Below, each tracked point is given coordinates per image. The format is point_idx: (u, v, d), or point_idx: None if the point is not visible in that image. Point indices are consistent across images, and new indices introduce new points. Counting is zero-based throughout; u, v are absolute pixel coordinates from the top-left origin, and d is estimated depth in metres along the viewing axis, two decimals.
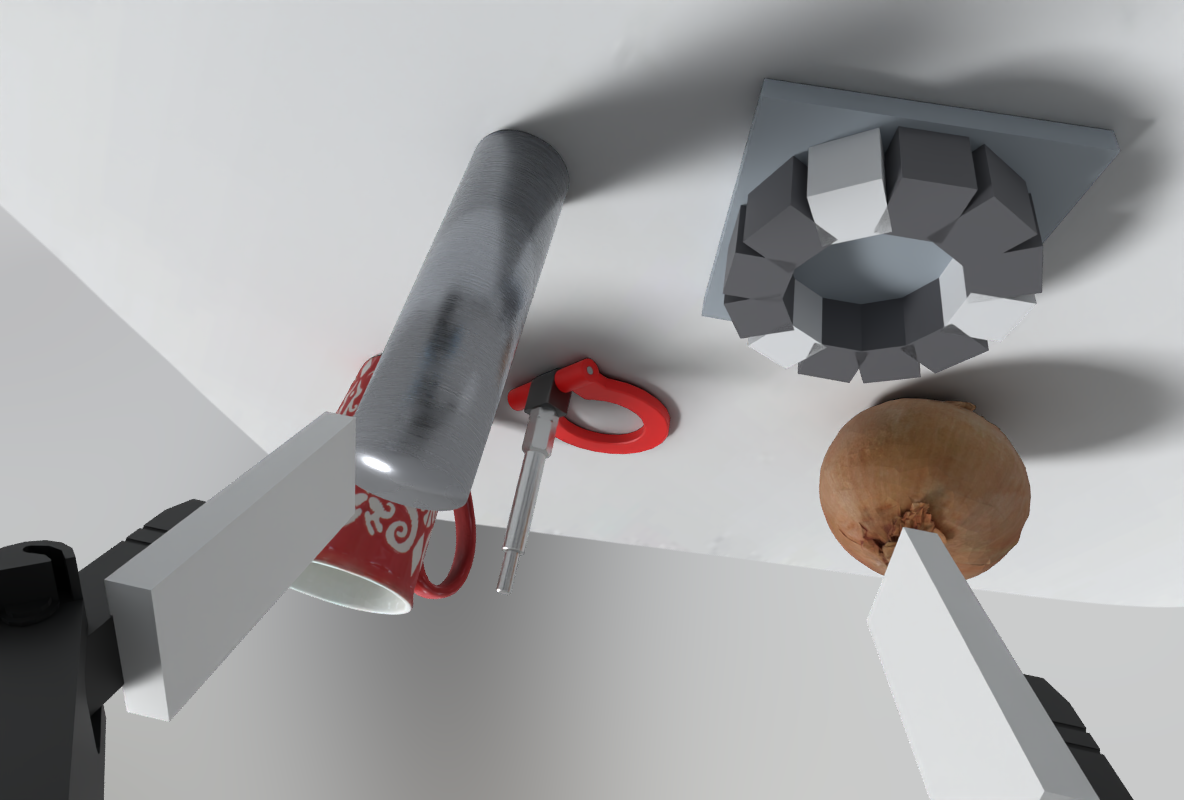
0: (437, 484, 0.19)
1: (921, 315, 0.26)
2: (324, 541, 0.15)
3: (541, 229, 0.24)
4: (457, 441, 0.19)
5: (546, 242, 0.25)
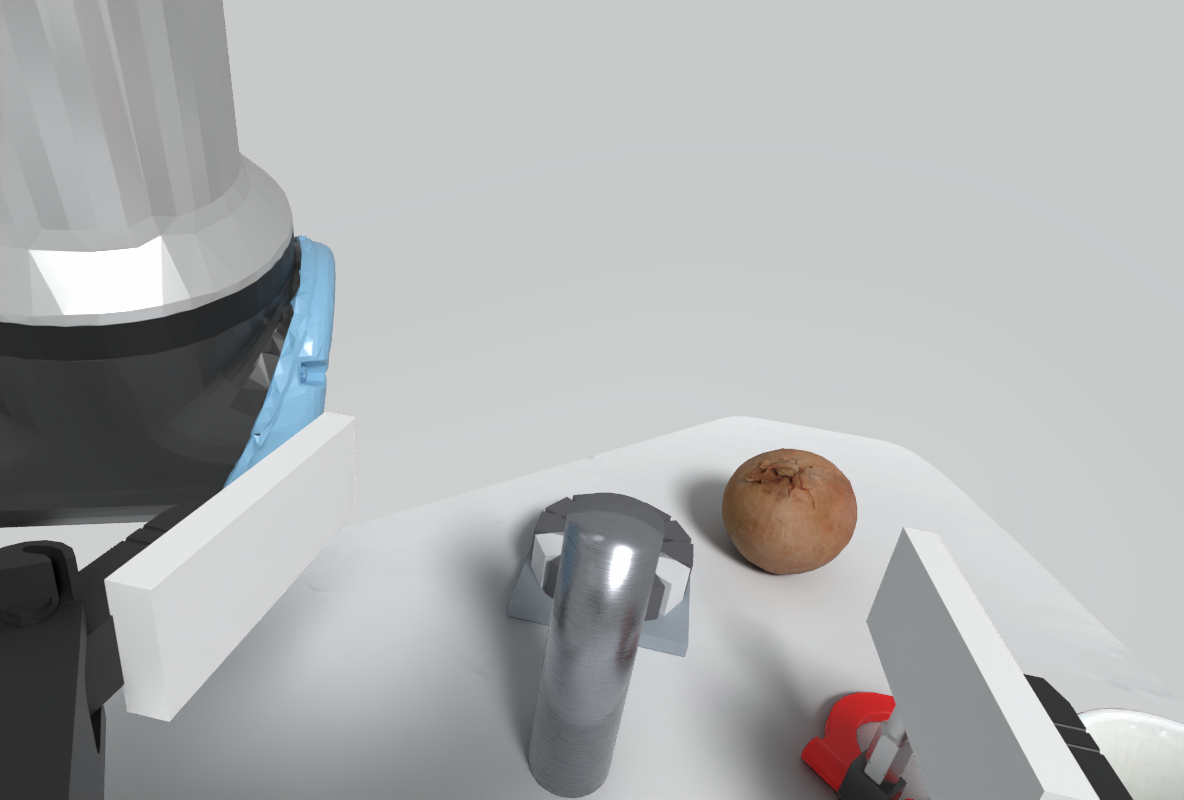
0: (612, 502, 0.28)
1: None
2: (324, 541, 0.15)
3: None
4: None
5: None
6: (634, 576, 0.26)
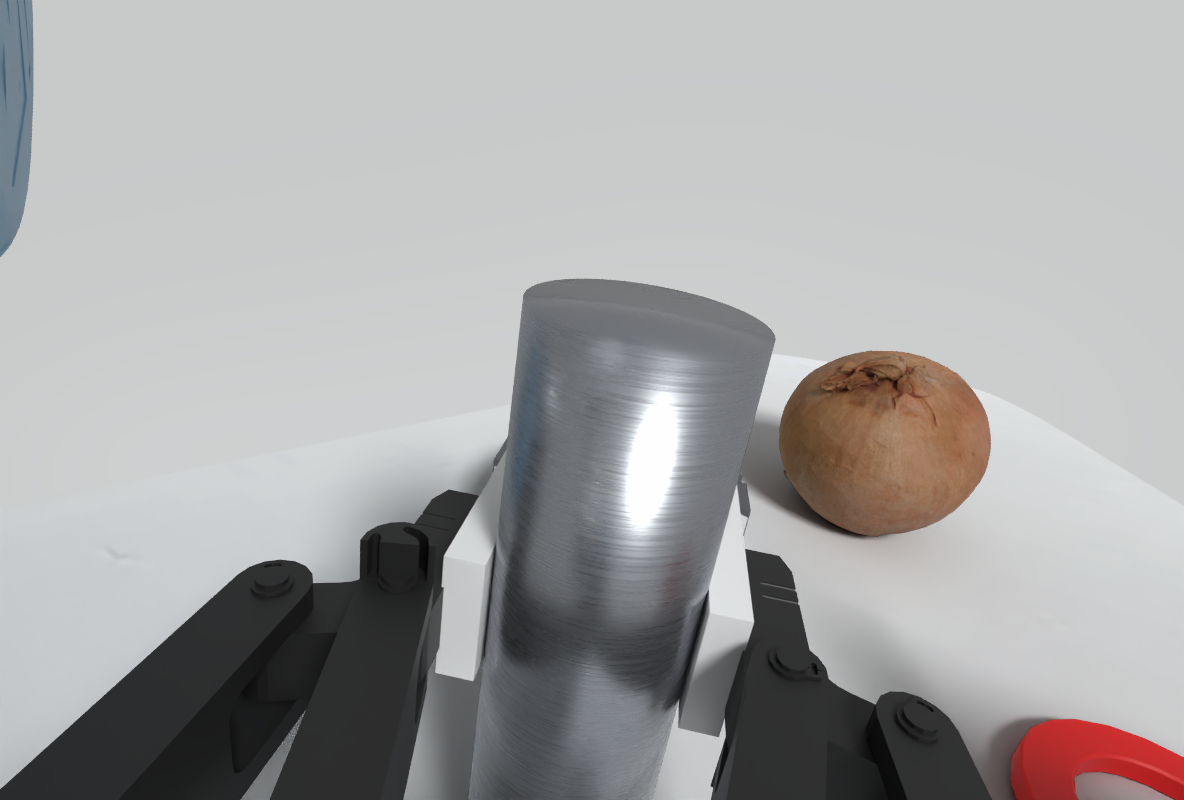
0: (634, 292, 0.12)
1: None
2: None
3: None
4: None
5: None
6: (704, 441, 0.09)
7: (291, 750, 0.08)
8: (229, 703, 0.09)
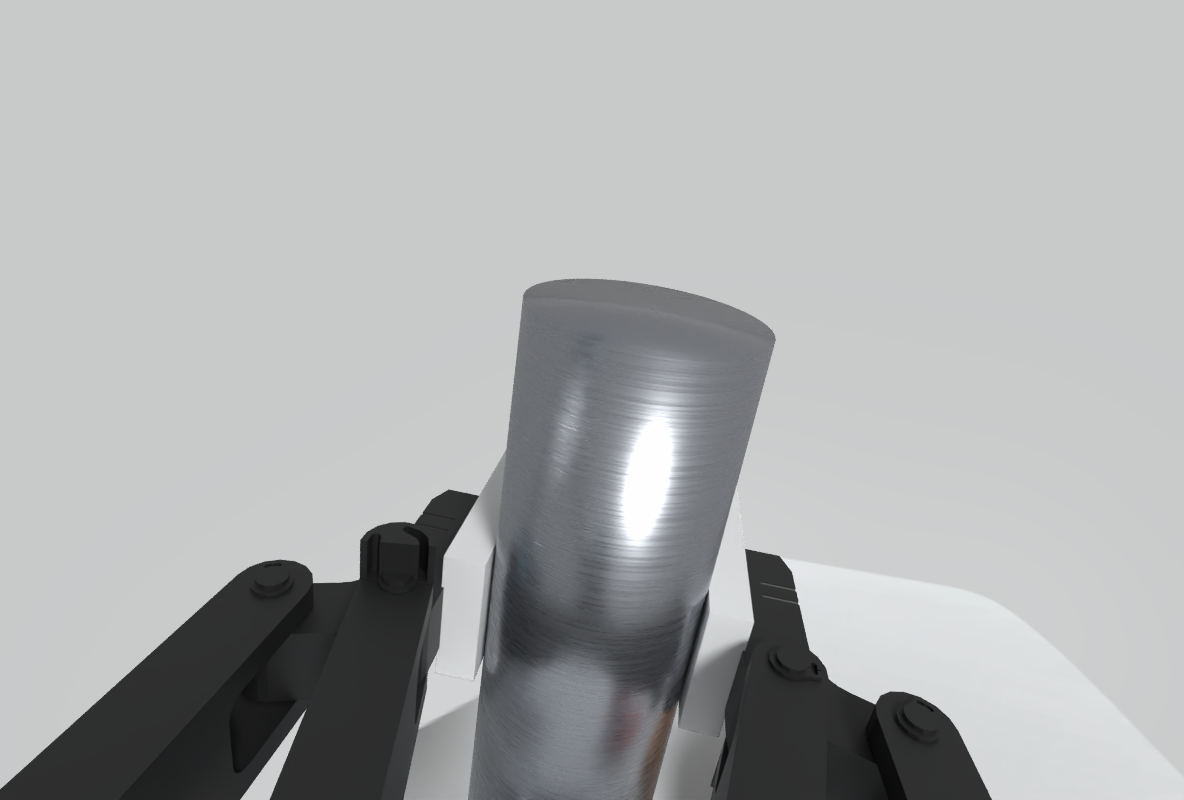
0: (634, 292, 0.12)
1: None
2: None
3: None
4: None
5: None
6: (704, 442, 0.09)
7: (291, 750, 0.08)
8: (229, 703, 0.09)
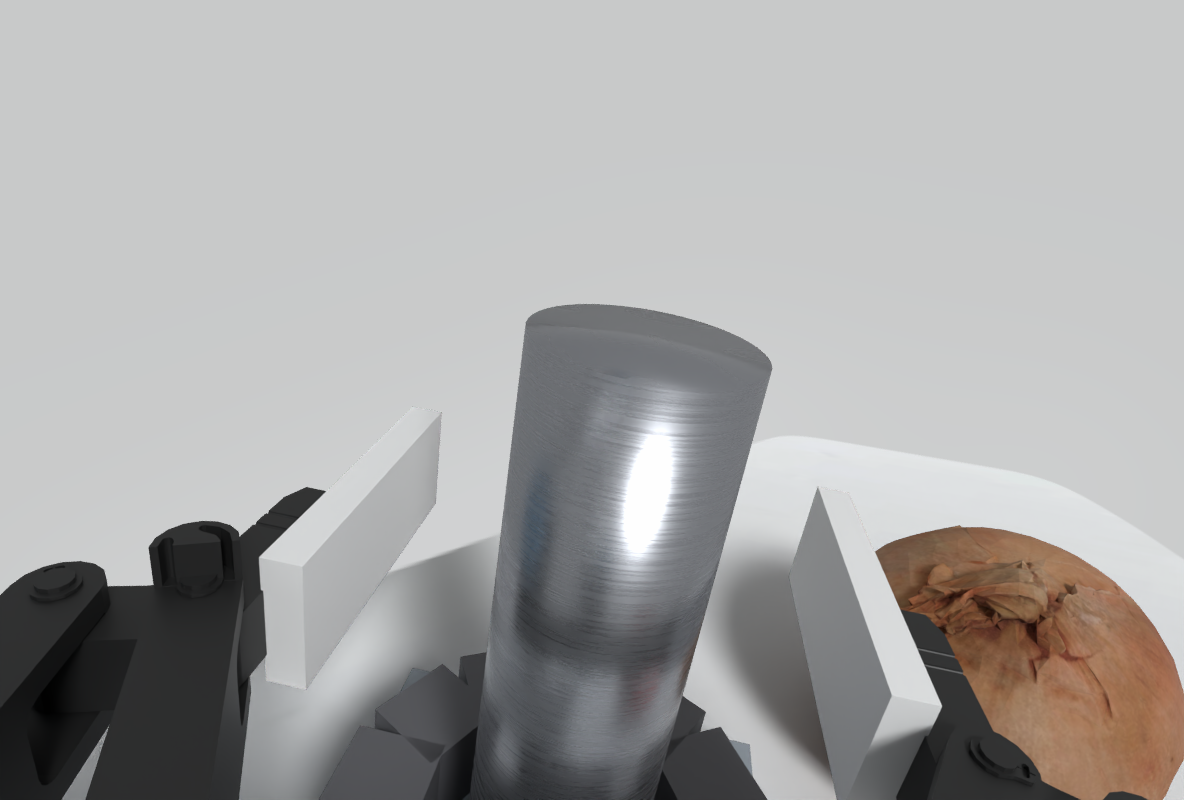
0: (633, 318, 0.12)
1: None
2: (414, 528, 0.16)
3: None
4: None
5: None
6: (701, 470, 0.10)
7: (94, 778, 0.07)
8: (24, 712, 0.08)
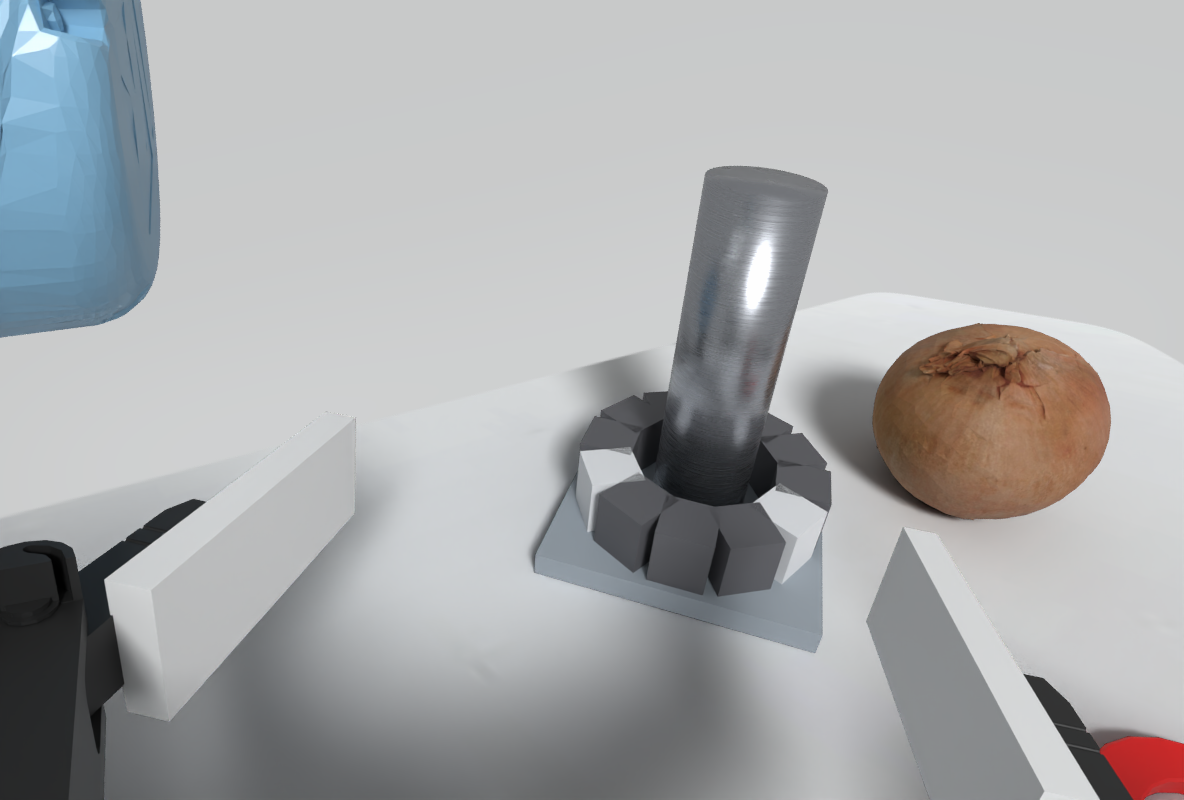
0: (758, 172, 0.23)
1: None
2: (324, 541, 0.15)
3: None
4: None
5: None
6: (789, 240, 0.21)
7: None
8: None
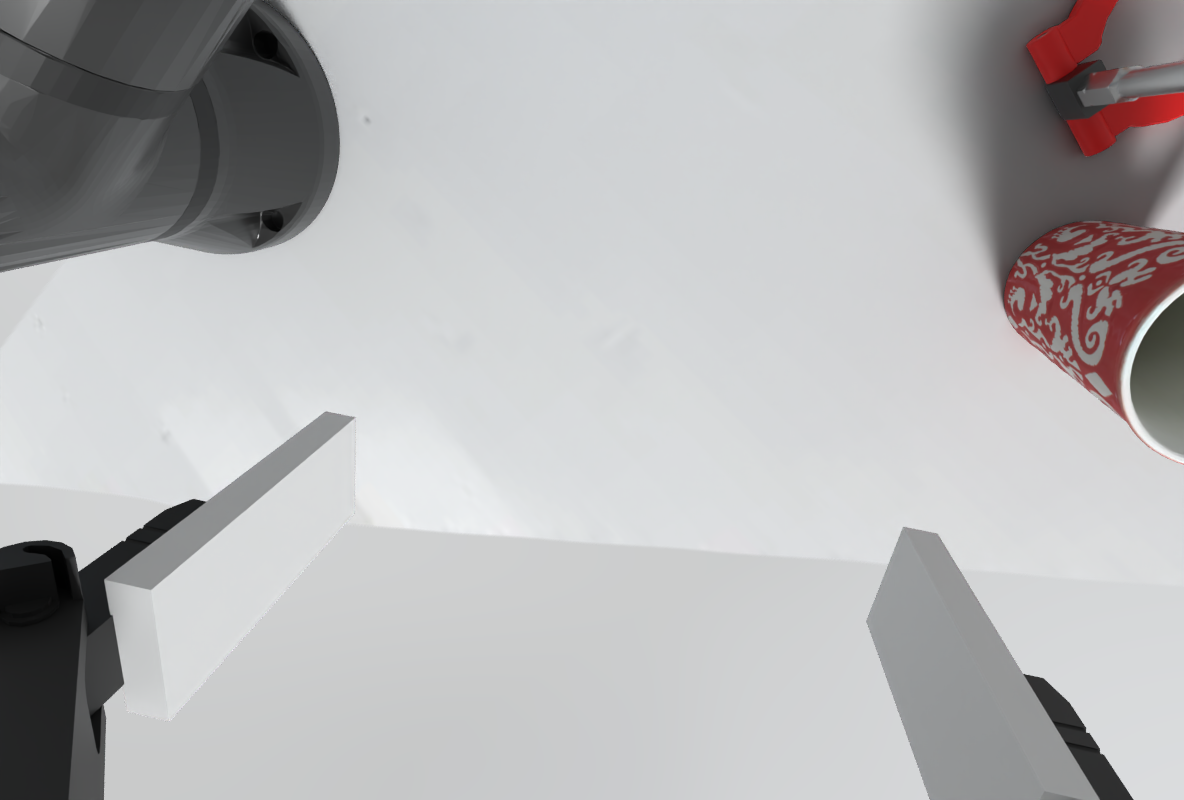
0: None
1: None
2: (324, 541, 0.15)
3: None
4: None
5: None
6: None
7: None
8: None
